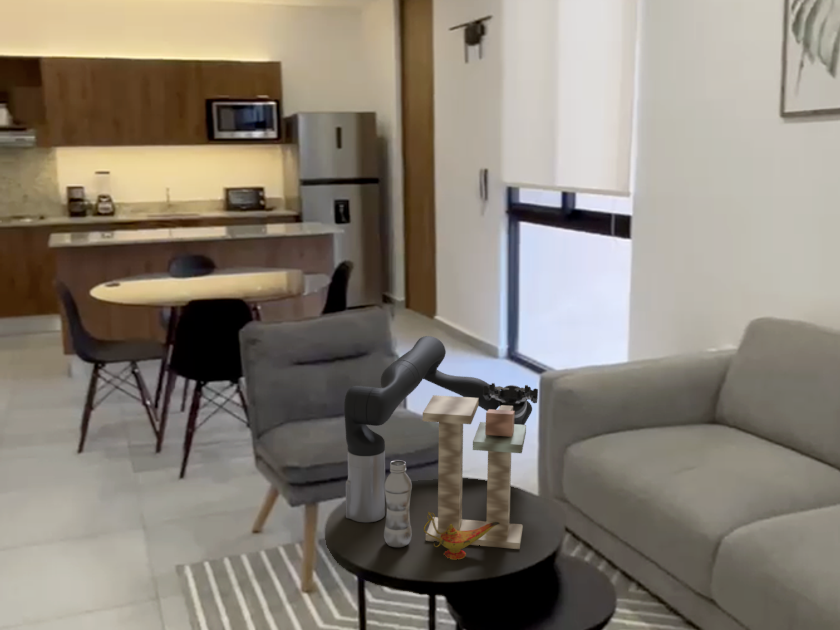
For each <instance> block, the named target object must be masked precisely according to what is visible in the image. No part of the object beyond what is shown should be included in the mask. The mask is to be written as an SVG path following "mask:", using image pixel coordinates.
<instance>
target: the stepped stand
mask: <svg viewBox="0 0 840 630" xmlns="http://www.w3.org/2000/svg"><path fill="white" fill-rule="evenodd" d="M478 399H479V398H471V397H463V396H453V395H449V396H448V395H437V394H436V395H435V394H434V395H432V397H431V398H430V400H429V402H428V403H427V405H426V406H425V408H424V410H423V411H422V422H428V423H430V422H431V423H438V465H437V467H438V471H437V472H438V474H437V476H438V477H437V479H438V481H437V482H438V484H437V485H438V486H437V487H438V488H437V489H438V490H437V496H438V497H437V516H435V518H434V516H432V518H434V521H433V522H435V526H436V529H437V531H439V533H443V532H445V531H446V530H448V529H449V528H450V527H449V526H450V524H452V525H453V527H454V528H455V529H456V530H460V531H469V530H475V529H478V528H480V527H482V526H485V525H487V524H489V523H492V522H500V524H498V525H496V526H494V527H493V528H491V529H490V530H489V531H488V532H487V533H486V534H484V535H483V536H482V537H481V538H479V539H478V540H476V541H475V542H473V543H471V544H470V545H469V546H479V545H480V546H481V547H489V548H490V547H492V548H504V549H512V550H513V549H514V550H520V548H521V543H522V535H523V524H521V523H511V522H510V520H511V519H510V518H511V517H510V516H511V515H510V514H511V481H512V478H511V475H512V470H511V469H512V454H523V450H524V444H525V441H526V440H525V439H526V434H527V425H526V424H525V425H519V424H514V433H513V435H512V437H511V436H496V435H485V428H486V421H480V422H479V423H478V426H477V430H476V432H475V435H474V437H473V439H472V451H480V452H481V451H484V452H487V480H486V481H487V484H486V489H487V490H486V521H483V520H474V519H463V466H464V465H463V461H464V459H463V457H464V451H463V450H464V425H471V424H472V423H473V421H474V418H475V415H476V413H477V410H478V407H479V406H478ZM428 525H429V526H428V527H427V530H426V532H427V533H429V534H431V535H433V536H435V537H437V538H439V539H440V536H441V534H438V533H437V532H436V531H435V529H434V526H433V523H432V520H431V521H430V522H429V524H428ZM448 527H449V528H448ZM447 528H448V529H447ZM425 541H427V542H434V541H437V542H436V543H440V541H439V540H438V539H436V538H434V537H432V536H430V535H428V534H426V533H425Z"/></svg>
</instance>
